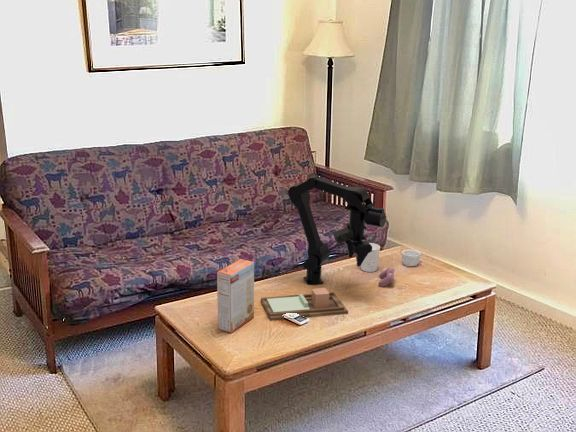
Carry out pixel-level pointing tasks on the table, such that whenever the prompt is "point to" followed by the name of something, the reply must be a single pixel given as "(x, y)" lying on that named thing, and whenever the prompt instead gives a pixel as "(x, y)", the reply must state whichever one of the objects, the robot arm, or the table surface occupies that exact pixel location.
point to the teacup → (410, 257)
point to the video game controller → (386, 277)
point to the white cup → (371, 259)
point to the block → (320, 298)
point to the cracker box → (235, 295)
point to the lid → (288, 304)
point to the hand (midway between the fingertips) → (354, 261)
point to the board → (334, 307)
